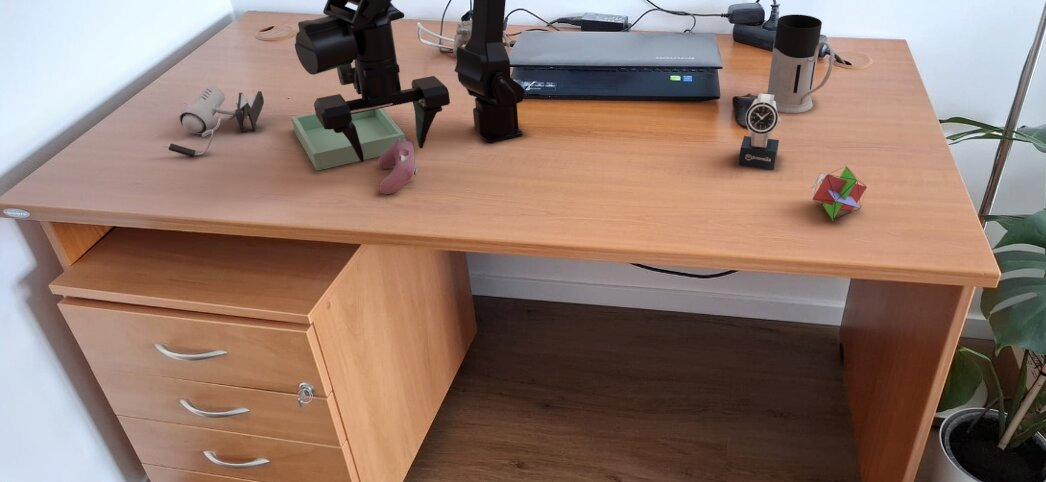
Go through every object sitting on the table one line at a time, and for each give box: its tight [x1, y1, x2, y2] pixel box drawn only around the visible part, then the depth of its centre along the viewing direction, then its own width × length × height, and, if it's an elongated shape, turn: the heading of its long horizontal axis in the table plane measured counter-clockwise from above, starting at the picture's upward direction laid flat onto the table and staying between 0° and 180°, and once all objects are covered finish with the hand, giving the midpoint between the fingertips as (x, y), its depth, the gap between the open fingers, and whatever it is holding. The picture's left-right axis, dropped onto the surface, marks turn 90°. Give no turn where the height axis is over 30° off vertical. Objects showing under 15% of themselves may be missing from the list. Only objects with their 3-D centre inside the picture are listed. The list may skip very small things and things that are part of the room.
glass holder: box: [766, 14, 835, 114], centre depth 143 cm, size 9×14×15 cm, turn 25°
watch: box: [738, 93, 782, 171], centre depth 127 cm, size 6×8×11 cm
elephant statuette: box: [452, 19, 511, 58], centre depth 167 cm, size 9×12×8 cm
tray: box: [291, 108, 406, 172], centre depth 136 cm, size 15×16×3 cm
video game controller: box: [377, 138, 418, 195], centre depth 124 cm, size 10×5×7 cm, turn 14°
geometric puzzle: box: [811, 165, 868, 221], centre depth 116 cm, size 7×7×8 cm
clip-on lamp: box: [163, 85, 265, 158], centre depth 137 cm, size 12×6×18 cm
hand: (391, 154), depth 125 cm, fingers open, 9 cm apart
